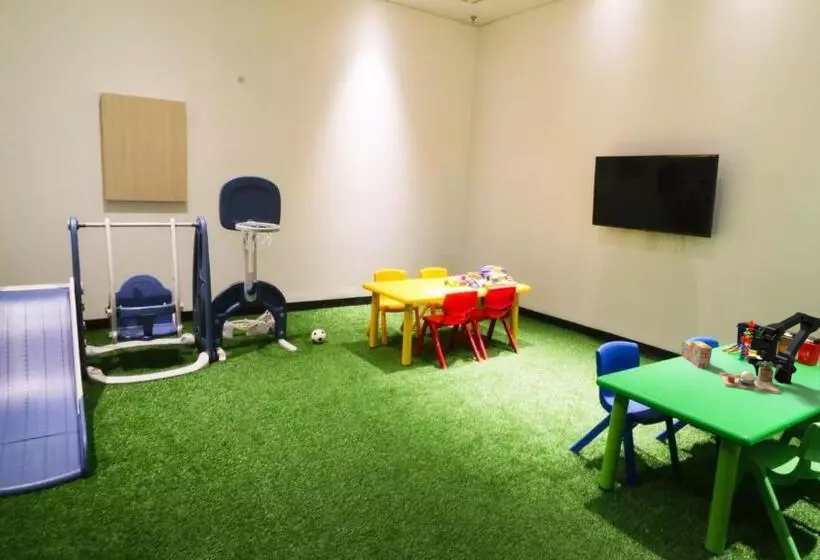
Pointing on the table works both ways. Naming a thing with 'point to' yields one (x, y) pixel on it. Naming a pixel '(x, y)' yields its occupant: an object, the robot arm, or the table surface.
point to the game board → (758, 385)
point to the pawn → (766, 373)
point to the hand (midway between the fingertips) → (765, 377)
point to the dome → (747, 377)
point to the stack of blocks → (697, 353)
